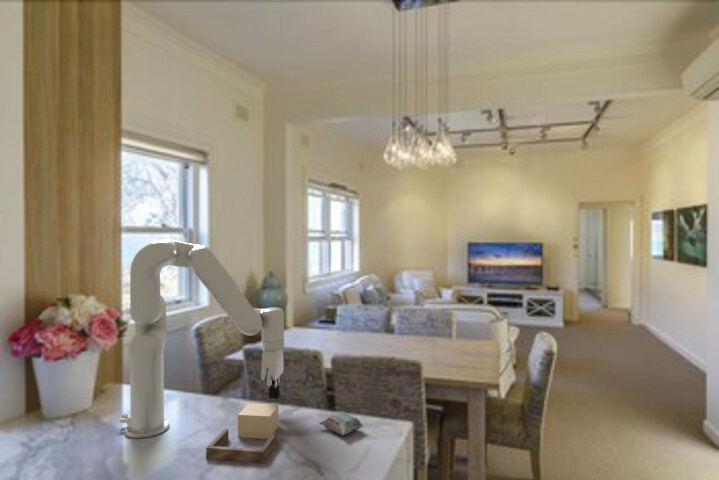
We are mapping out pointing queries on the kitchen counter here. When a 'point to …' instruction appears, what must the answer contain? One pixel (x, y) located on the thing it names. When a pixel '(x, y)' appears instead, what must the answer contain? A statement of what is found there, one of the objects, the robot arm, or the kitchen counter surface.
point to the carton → (258, 421)
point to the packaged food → (341, 423)
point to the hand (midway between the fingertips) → (274, 397)
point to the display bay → (239, 450)
